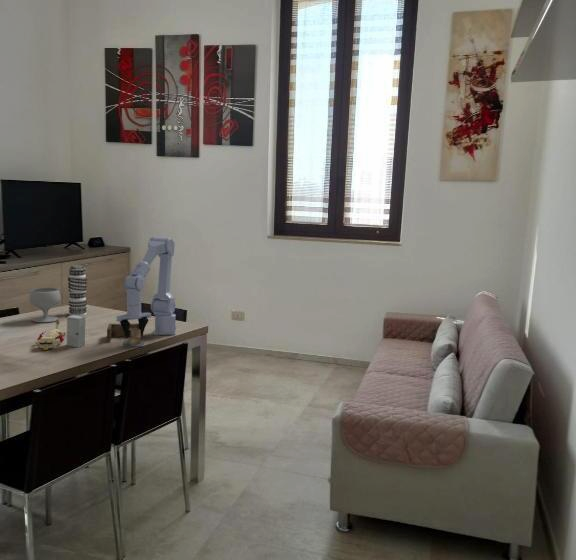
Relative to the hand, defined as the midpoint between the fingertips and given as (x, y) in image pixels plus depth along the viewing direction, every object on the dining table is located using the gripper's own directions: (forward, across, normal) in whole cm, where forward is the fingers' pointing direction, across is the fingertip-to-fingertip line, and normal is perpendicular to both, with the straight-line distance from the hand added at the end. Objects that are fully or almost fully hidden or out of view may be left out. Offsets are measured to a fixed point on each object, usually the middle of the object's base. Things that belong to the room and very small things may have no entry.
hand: (134, 336), depth 231 cm
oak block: (+3, 0, 0) cm, 3 cm away
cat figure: (+4, +27, -20) cm, 34 cm away
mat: (+4, 0, 0) cm, 4 cm away
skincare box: (+4, +20, -12) cm, 23 cm away
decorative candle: (+4, -1, -67) cm, 67 cm away
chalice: (+4, +16, -62) cm, 64 cm away
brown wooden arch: (+4, -1, -11) cm, 11 cm away
